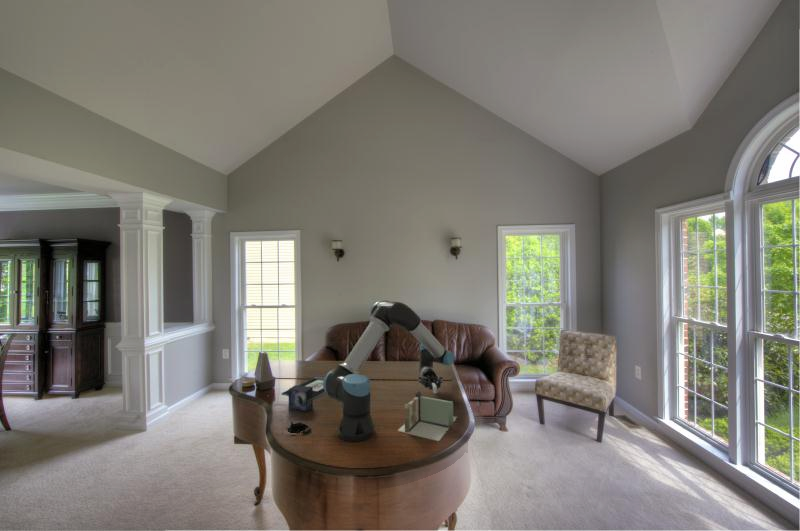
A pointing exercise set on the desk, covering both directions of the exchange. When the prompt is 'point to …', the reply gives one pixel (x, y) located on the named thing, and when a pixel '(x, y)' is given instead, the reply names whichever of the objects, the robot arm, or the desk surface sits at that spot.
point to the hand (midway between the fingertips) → (435, 390)
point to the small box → (300, 398)
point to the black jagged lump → (298, 428)
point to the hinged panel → (436, 410)
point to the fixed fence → (412, 412)
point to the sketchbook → (315, 383)
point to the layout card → (427, 429)
